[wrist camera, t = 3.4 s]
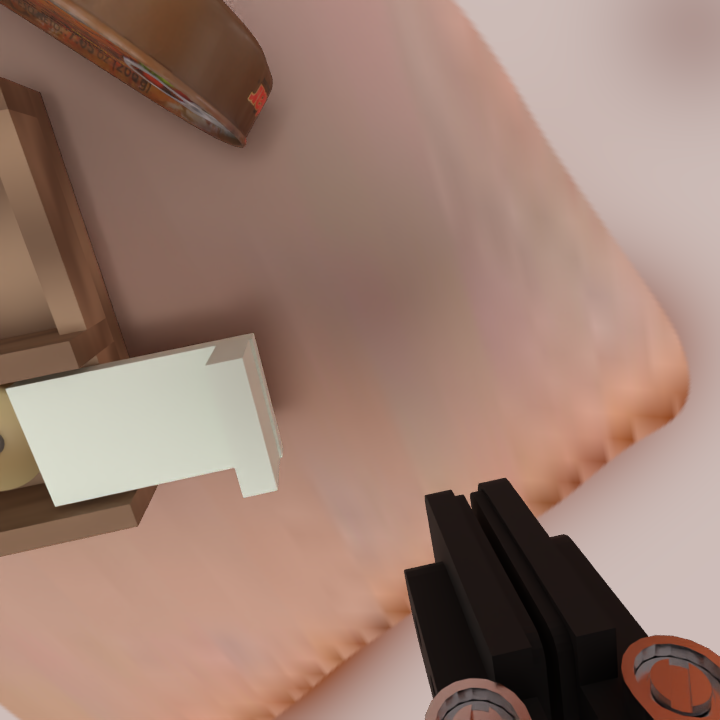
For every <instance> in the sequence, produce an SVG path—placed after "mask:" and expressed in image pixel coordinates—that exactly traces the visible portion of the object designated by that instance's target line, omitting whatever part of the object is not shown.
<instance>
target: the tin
mask: <svg viewBox="0 0 720 720" xmlns="http://www.w3.org/2000/svg"><path fill="white" fill-rule="evenodd" d="M0 3H1V4H2V5H4V6H6V7H7V8H9V9H10V10H12V11H13V12H15V13H16V14H18V15H20V16H21V17H23V18H24V19H26V20H27V21H29V22H31V23H32V24H34V25H35V26H37V27H38V28H40V29H42V30H43V31H45V32H46V33H48V34H49V35H51V36H52V37H54V38H55V39H57V40H59V41H60V42H62V43H63V44H65V45H67V46H68V47H70V48H71V49H73V50H74V51H76V52H77V53H79V54H80V55H82V56H84V57H85V58H87V59H88V60H90V61H91V62H93V63H94V64H96V65H98V66H99V67H101V68H102V69H104V70H105V71H107V72H108V73H110V74H112V75H113V76H115V77H116V78H118V79H119V80H121V81H122V82H124V83H125V84H127V85H129V86H130V87H132V88H133V89H135V90H137V91H138V92H140V93H141V94H143V95H144V96H146V97H148V98H149V99H151V100H152V101H154V102H155V103H157V104H159V105H160V106H162V107H163V108H165V109H166V110H168V111H170V112H172V113H173V114H175V115H177V116H178V117H180V118H182V119H184V120H185V121H187V122H188V123H190V124H192V125H193V126H195V127H197V128H199V129H200V130H202V131H204V132H206V133H208V134H209V135H211V136H213V137H215V138H217V139H219V140H221V141H223V142H225V143H228V144H230V145H233V146H236V147H241V148H243V147H245V145H246V142H247V141H246V137H247V135H248V133H249V131H250V129H251V127H252V125H253V124H254V122H255V120H256V118H257V116H258V115H259V113H260V111H261V109H262V107H263V106H264V104H265V102H266V100H267V98H268V96H269V94H270V92H271V89H272V84H273V81H272V76H271V73H270V70H269V67H268V64H267V62H266V58H265V56H264V53H263V51H262V48H261V47H260V45H259V43H258V42H257V40H256V39H255V37H254V36H253V35H252V33H251V32H250V31H249V30H248V28H247V27H246V26H245V25H244V23H243V22H242V21H241V20H240V19H239V18H238V17H237V16H236V15H235V13H234V12H233V11H232V10H231V9H230V8H229V7H228V6H227V5H226V4H225V3H224V2H223V1H222V0H0Z"/></svg>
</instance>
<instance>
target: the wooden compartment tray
mask: <svg viewBox="0 0 720 720" xmlns="http://www.w3.org/2000/svg"><path fill="white" fill-rule="evenodd" d="M128 358H129V355H128V352H127V349H126V346H125V343H124V340H123V337H122V334H121V331H120V328H119V325H118V323H117V320H116V317H115V314H114V311H113V308H112V305H111V302H110V299H109V296H108V293H107V290H106V287H105V284H104V281H103V278H102V275H101V272H100V269H99V266H98V263H97V260H96V257H95V254H94V251H93V248H92V246H91V243H90V240H89V237H88V234H87V231H86V228H85V225H84V222H83V219H82V216H81V213H80V210H79V207H78V204H77V201H76V198H75V195H74V192H73V189H72V186H71V183H70V180H69V177H68V174H67V171H66V168H65V166H64V163H63V160H62V157H61V154H60V151H59V148H58V145H57V142H56V139H55V136H54V133H53V130H52V127H51V124H50V121H49V118H48V115H47V112H46V109H45V106H44V103H43V100H42V97H41V94H40V92H37V91H35V90H32V89H30V88H27V87H25V86H22V85H20V84H17V83H15V82H12V81H10V80H7V79H5V78H2V77H0V557H2V556H6V555H11V554H15V553H20V552H24V551H29V550H33V549H38V548H42V547H47V546H51V545H56V544H60V543H65V542H69V541H74V540H78V539H83V538H87V537H92V536H97V535H101V534H106V533H110V532H115V531H119V530H124V529H128V528H133V527H137V526H138V525H139V523H140V521H141V519H142V517H143V515H144V513H145V511H146V509H147V507H148V505H149V503H150V501H151V499H152V496H153V494H154V492H155V490H156V488H157V486H158V485H153V486H149V487H144V488H139V489H135V490H130V491H126V492H121V493H116V494H112V495H107V496H103V497H98V498H93V499H89V500H84V501H80V502H75V503H71V504H66V505H61V506H57V507H55V505H54V503H53V501H52V498H51V496H50V494H49V491H48V489H47V486H46V484H45V482H44V479H43V477H42V475H41V472H40V470H39V468H38V465H37V463H36V460H35V458H34V456H33V453H32V451H31V449H30V446H29V444H28V442H27V439H26V437H25V435H24V432H23V430H22V427H21V425H20V423H19V420H18V418H17V416H16V413H15V411H14V409H13V406H12V404H11V401H10V399H9V397H8V394H7V392H6V390H5V389H6V388H7V387H9V386H11V385H12V384H14V383H15V382H17V381H21V380H26V379H31V378H36V377H41V376H46V375H50V374H55V373H60V372H65V371H70V370H75V369H80V368H85V367H89V366H94V365H99V364H104V363H109V362H114V361H119V360H123V359H128Z"/></svg>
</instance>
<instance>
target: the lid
mask: <svg viewBox="0 0 720 720" xmlns="http://www.w3.org/2000/svg"><path fill="white" fill-rule="evenodd" d="M5 390H6V392H7V394H8V397H9V399H10V401H11V404H12V406H13V409H14V411H15V413H16V416H17V418H18V420H19V423H20V425H21V427H22V430H23V432H24V435H25V437H26V439H27V442H28V444H29V446H30V449H31V451H32V453H33V456H34V458H35V460H36V463H37V465H38V468H39V470H40V472H41V475H42V477H43V479H44V482H45V484H46V486H47V489H48V491H49V494H50V496H51V498H52V501H53V503H54V505H55V507H57V506H61V505H66V504H71V503H75V502H80V501H84V500H89V499H93V498H98V497H103V496H107V495H112V494H116V493H121V492H126V491H130V490H135V489H139V488H144V487H149V486H153V485H158V484H162V483H167V482H171V481H176V480H181V479H185V478H190V477H194V476H199V475H204V474H208V473H213V472H217V471H222V470H227V469H231V468H235V471H236V474H237V478H238V481H239V485H240V488H241V491H242V495H243V498H245V497H250V496H255V495H259V494H264V493H268V492H273V491H277V490H278V479H279V465H280V458H282V457H283V446H282V442H281V438H280V434H279V430H278V426H277V422H276V418H275V414H274V410H273V406H272V403H271V399H270V395H269V391H268V387H267V383H266V379H265V375H264V371H263V367H262V363H261V360H260V356H259V352H258V348H257V344H256V340H255V336H254V333H250V334H245V335H240V336H235V337H230V338H226V339H221V340H216V341H211V342H206V343H201V344H196V345H192V346H187V347H182V348H177V349H172V350H167V351H162V352H158V353H153V354H148V355H143V356H138V357H133V358H128V359H123V360H119V361H114V362H109V363H104V364H99V365H94V366H89V367H85V368H80V369H75V370H70V371H65V372H60V373H55V374H50V375H46V376H41V377H36V378H31V379H26V380H21V381H17V382H15V383H14V384H12V385H11V386H9V387H7V388H6V389H5Z"/></svg>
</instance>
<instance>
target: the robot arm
mask: <svg viewBox="0 0 720 720" xmlns="http://www.w3.org/2000/svg"><path fill="white" fill-rule="evenodd" d="M470 500H471V507H472V509H471V507H470V505H469V504H468V502H467V500H466V498H465V496H464V495H458V496H455V495H454V493H453V492H452V490H447V491H442V492H438V493H433V494H429V495H425V504H426V510H427V516H428V522H429V528H430V534H431V540H432V545H433V551H434V557H435V563H433V564H428V565H424V566H419V567H415V568H410V569H406V570H404V573H405V579H406V585H407V590H408V595H409V600H410V605H411V610H412V615H413V619H414V624H415V628H416V632H417V637H418V641H419V645H420V649H421V653H422V657H423V661H424V665H425V668H426V673H427V677H428V680H429V684H430V688H431V692H432V696H433V700H432V701H431V703H430V705H429V708H428V710H427V712H426V715H425V720H720V656H718V655H717V654H716V653H714V652H713V651H711V650H710V649H709V648H707V647H704V646H702V645H700V644H698V643H696V642H694V641H691V640H688V639H684V638H680V637H676V636H667V635H654V636H650V637H648V635H647V634H646V633H645V632H644V630H643V629H642V628H641V626H640V625H639V624H638V623H637V621H635V619H634V618H633V616H632V615H631V614H630V613H629V611H628V610H627V609H626V608H625V606H624V605H623V604H622V603H621V601H620V600H619V599H618V598H617V596H616V595H615V594H614V592H613V591H612V590H611V589H610V587H609V586H608V585H607V583H606V582H605V581H604V580H603V578H602V577H601V576H600V575H599V573H598V572H597V571H596V570H595V569H594V567H593V566H592V564H591V563H590V562H589V561H588V559H587V558H586V557H585V556H584V554H583V553H582V552H581V551H580V549H579V548H578V547H577V546H576V544H575V543H574V542H573V541H572V540H571V538H570V537H569V536H567V535H564V534H563V535H558V536H554V537H549V536H548V534H547V533H546V531H545V530H544V529H543V527H542V526H541V525H540V523H539V522H538V520H537V519H536V518H535V516H534V515H533V514H532V512H531V511H530V510H529V508H528V507H527V505H526V504H525V503H524V501H523V500H522V499H521V497H520V496H519V494H518V493H517V492H516V490H515V489H514V488H513V486H512V485H511V483H510V482H509V481H508V480H507V479H506V478H502V479H497V480H493V481H488V482H484V483H479V485H478V491H477V492H472V493H471V494H470Z"/></svg>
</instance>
